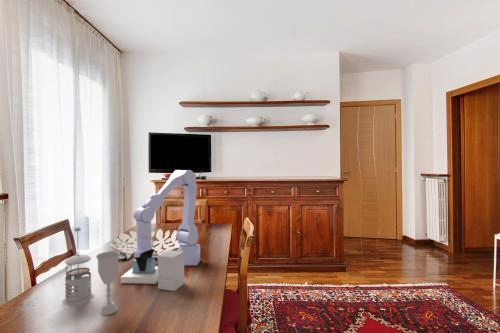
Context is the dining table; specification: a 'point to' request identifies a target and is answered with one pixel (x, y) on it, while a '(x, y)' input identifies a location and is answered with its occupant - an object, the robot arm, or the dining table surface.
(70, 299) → the french press
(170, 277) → the supplement box
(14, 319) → the dining table surface
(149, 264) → the block
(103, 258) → the chalice
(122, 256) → the woman figurine
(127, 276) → the white rectangular frame
